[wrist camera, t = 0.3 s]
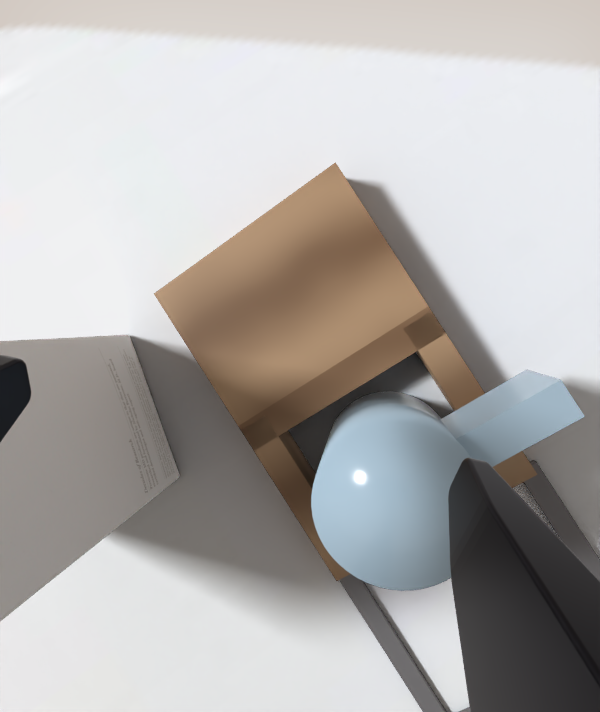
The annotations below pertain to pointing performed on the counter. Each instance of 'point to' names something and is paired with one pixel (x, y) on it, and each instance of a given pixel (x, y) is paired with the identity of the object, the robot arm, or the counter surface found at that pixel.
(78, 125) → the counter surface
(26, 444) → the supplement box
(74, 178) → the counter surface
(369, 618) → the frame
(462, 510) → the robot arm
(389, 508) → the jug
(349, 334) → the cradle
